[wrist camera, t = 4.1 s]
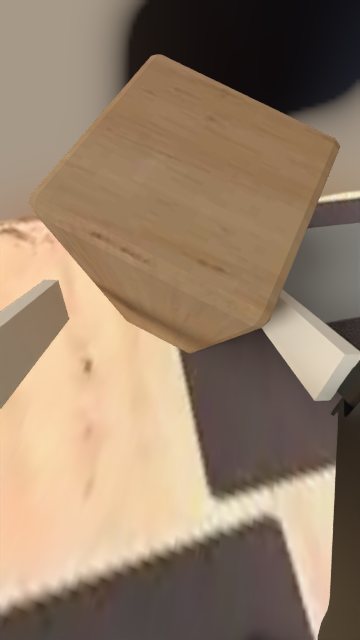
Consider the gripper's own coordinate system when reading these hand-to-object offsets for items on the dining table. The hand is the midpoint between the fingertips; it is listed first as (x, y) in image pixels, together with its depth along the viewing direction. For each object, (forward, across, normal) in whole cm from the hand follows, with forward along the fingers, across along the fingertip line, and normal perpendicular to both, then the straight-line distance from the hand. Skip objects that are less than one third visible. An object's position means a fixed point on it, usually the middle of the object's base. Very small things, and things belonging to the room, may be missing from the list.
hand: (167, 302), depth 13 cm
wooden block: (+13, +1, -7) cm, 15 cm away
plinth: (+15, +21, -4) cm, 26 cm away
